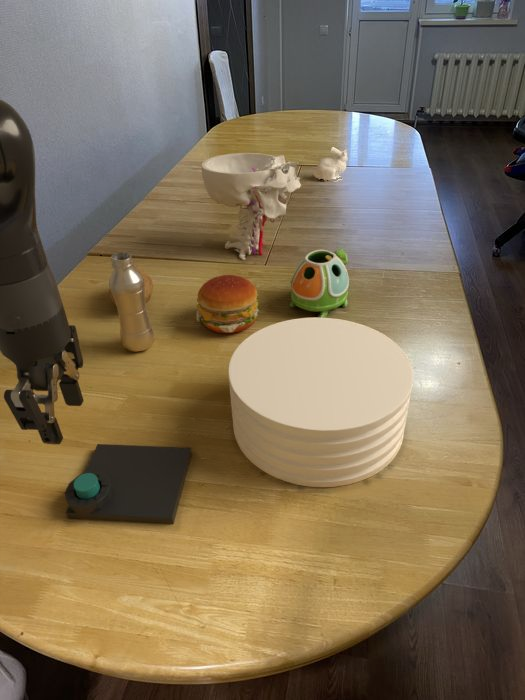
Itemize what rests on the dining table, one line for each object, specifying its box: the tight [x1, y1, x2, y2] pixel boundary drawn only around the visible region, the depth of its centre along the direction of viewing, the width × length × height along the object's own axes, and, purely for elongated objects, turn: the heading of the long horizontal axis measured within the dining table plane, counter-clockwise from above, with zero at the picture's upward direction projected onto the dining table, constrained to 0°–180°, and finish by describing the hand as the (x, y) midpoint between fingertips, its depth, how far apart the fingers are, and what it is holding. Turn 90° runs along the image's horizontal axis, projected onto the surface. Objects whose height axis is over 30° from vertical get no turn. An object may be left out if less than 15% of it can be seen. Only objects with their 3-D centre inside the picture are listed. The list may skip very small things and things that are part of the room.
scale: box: [64, 443, 193, 525], centre depth 75 cm, size 16×13×3 cm
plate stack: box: [227, 317, 414, 488], centre depth 83 cm, size 28×28×12 cm
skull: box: [201, 152, 302, 261], centre depth 136 cm, size 25×19×23 cm
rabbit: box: [313, 146, 349, 183], centre depth 184 cm, size 12×9×12 cm
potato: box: [108, 265, 154, 305], centre depth 117 cm, size 10×14×8 cm
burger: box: [196, 274, 260, 334], centre depth 109 cm, size 13×14×10 cm
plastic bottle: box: [108, 251, 155, 352], centre depth 99 cm, size 6×7×20 cm
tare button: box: [74, 473, 100, 499], centre depth 72 cm, size 3×3×2 cm
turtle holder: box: [289, 248, 350, 318], centre depth 114 cm, size 12×18×12 cm
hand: (64, 422), depth 65 cm, fingers open, 6 cm apart
